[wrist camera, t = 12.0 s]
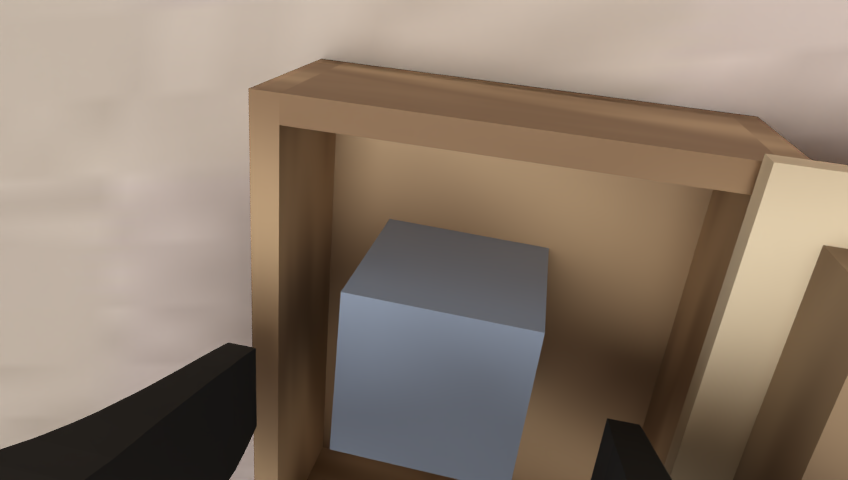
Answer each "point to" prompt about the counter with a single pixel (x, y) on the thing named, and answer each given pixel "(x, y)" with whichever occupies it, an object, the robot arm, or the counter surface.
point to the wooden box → (497, 218)
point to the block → (439, 351)
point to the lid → (776, 339)
